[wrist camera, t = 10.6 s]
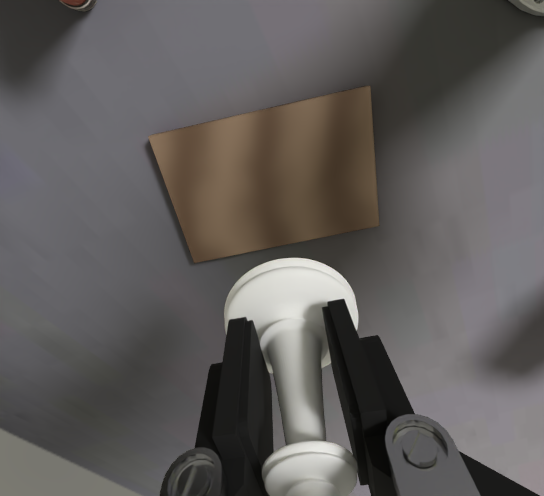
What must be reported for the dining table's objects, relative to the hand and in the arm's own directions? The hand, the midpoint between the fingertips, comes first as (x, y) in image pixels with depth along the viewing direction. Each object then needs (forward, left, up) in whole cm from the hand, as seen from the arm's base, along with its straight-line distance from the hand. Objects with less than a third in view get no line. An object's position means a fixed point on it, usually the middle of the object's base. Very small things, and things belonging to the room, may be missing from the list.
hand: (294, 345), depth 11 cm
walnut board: (0, 0, -21) cm, 21 cm away
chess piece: (0, 0, -2) cm, 2 cm away
